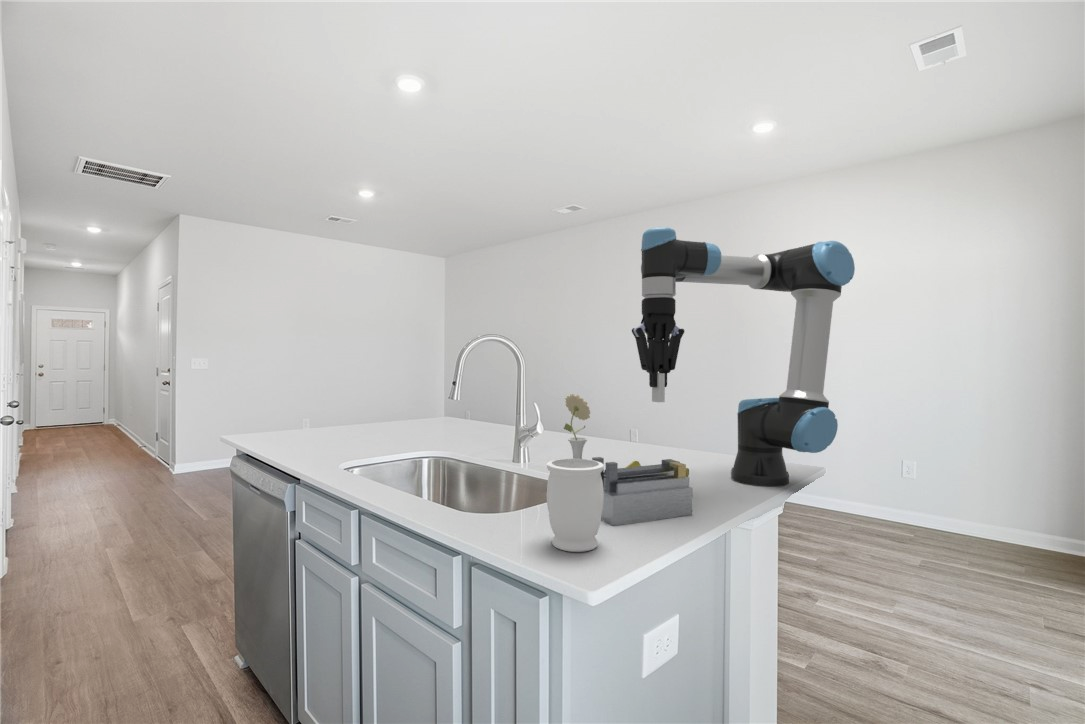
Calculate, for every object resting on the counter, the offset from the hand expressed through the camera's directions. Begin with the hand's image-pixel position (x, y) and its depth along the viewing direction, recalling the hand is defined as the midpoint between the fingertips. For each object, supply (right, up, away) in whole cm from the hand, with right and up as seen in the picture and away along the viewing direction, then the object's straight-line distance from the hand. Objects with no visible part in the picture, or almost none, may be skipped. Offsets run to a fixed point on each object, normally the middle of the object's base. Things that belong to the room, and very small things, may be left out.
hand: (658, 401), depth 121 cm
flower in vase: (-18, -24, +15) cm, 34 cm away
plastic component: (+3, -25, +18) cm, 30 cm away
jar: (-20, -25, -23) cm, 40 cm away
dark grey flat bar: (-4, -16, -1) cm, 16 cm away
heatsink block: (-5, -24, -2) cm, 25 cm away
